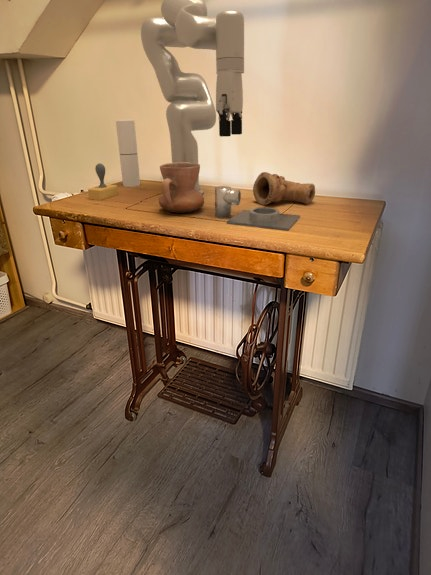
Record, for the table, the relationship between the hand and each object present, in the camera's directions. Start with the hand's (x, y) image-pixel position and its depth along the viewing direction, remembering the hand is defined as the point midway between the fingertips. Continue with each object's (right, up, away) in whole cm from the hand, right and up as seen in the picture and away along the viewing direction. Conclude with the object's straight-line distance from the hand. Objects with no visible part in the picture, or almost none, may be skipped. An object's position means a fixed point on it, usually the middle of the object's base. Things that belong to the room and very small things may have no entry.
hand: (231, 135), depth 112 cm
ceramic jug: (-16, -19, +13) cm, 28 cm away
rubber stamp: (-46, -11, +32) cm, 57 cm away
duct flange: (+10, -24, +2) cm, 26 cm away
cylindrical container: (-40, -1, +51) cm, 65 cm away
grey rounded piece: (-1, -22, +6) cm, 23 cm away
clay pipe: (+18, -15, +21) cm, 31 cm away
